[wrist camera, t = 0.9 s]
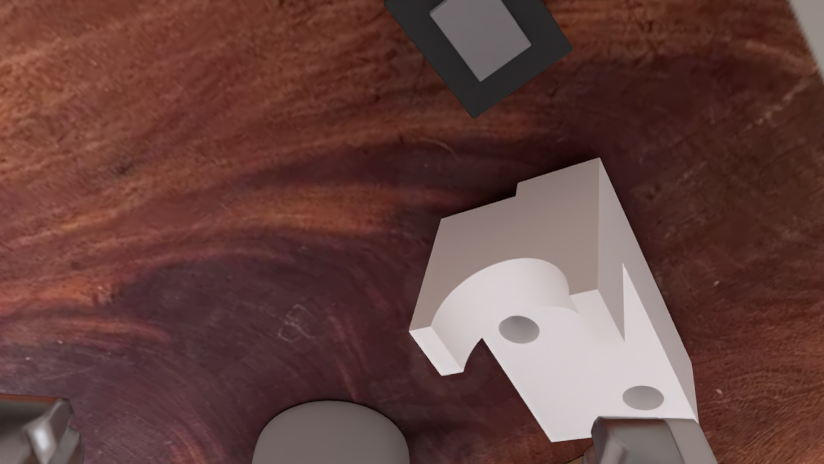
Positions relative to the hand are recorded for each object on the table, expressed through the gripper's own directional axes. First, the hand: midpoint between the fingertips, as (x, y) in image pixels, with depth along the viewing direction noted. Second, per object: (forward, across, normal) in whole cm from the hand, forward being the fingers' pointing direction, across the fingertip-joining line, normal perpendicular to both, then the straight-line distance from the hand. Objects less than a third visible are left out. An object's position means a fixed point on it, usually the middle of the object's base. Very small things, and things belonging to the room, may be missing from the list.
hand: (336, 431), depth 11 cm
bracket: (+18, -9, +11) cm, 23 cm away
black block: (+18, -3, -2) cm, 18 cm away
